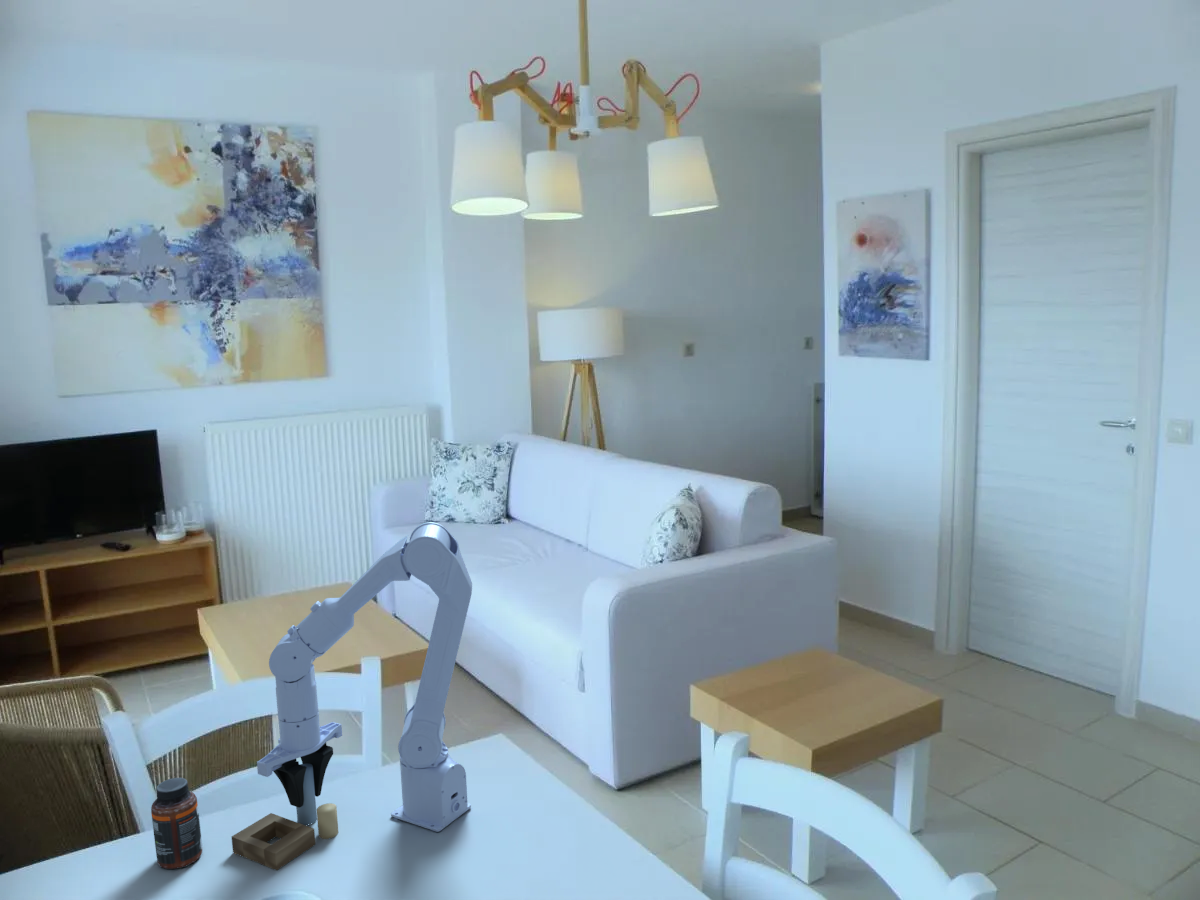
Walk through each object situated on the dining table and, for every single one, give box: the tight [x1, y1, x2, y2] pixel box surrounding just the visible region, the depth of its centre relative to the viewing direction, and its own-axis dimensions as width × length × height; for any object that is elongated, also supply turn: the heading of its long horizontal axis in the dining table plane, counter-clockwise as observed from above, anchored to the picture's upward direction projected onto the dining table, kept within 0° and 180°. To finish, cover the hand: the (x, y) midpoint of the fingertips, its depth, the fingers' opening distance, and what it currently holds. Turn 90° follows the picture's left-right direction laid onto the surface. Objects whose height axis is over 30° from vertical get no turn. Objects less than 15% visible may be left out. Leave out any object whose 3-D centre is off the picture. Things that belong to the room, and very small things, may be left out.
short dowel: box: [316, 802, 339, 840], centre depth 138 cm, size 3×3×4 cm
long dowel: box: [295, 763, 317, 826], centre depth 141 cm, size 3×3×8 cm
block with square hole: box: [231, 812, 316, 871], centre depth 135 cm, size 9×7×2 cm
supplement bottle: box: [150, 777, 203, 870], centre depth 132 cm, size 6×6×11 cm
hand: (305, 799), depth 141 cm, fingers open, 3 cm apart
